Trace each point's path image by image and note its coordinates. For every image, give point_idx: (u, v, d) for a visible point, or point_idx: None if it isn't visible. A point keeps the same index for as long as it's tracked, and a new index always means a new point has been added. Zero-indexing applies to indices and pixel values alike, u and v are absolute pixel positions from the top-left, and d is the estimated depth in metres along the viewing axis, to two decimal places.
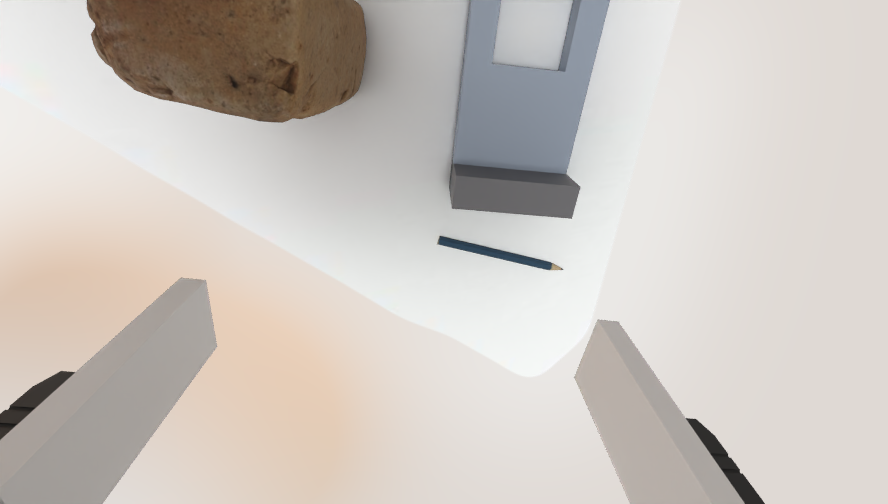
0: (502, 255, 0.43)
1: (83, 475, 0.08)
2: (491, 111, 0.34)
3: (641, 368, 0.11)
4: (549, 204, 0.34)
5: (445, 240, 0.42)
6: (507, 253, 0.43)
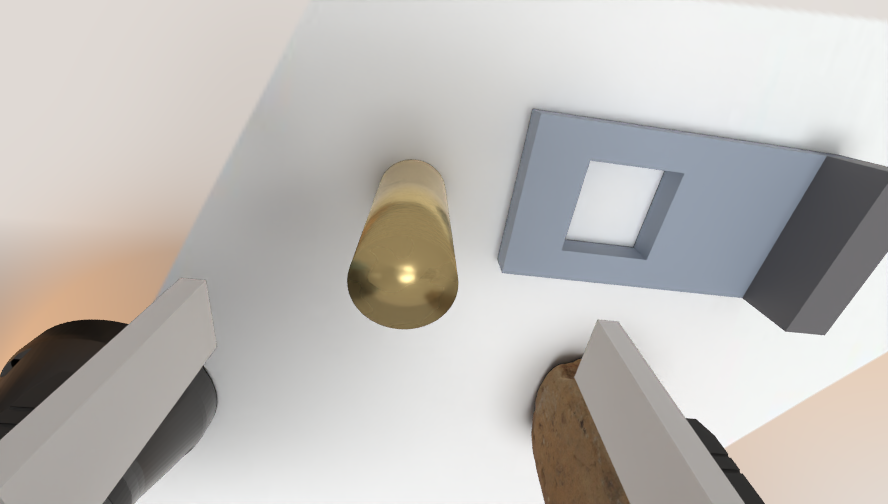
0: None
1: (83, 475, 0.08)
2: (699, 258, 0.28)
3: (641, 368, 0.11)
4: None
5: None
6: None
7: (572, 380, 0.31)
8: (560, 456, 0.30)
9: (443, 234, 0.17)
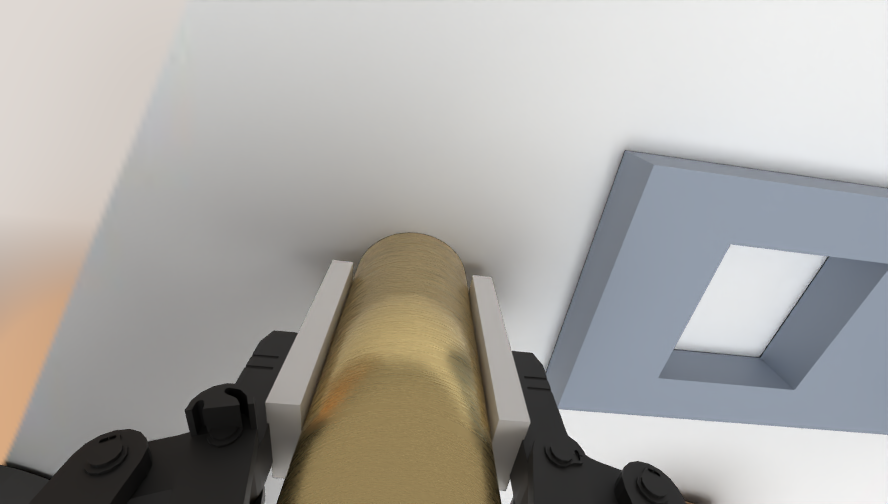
0: None
1: None
2: (879, 387, 0.17)
3: (491, 311, 0.13)
4: None
5: None
6: None
7: None
8: None
9: None
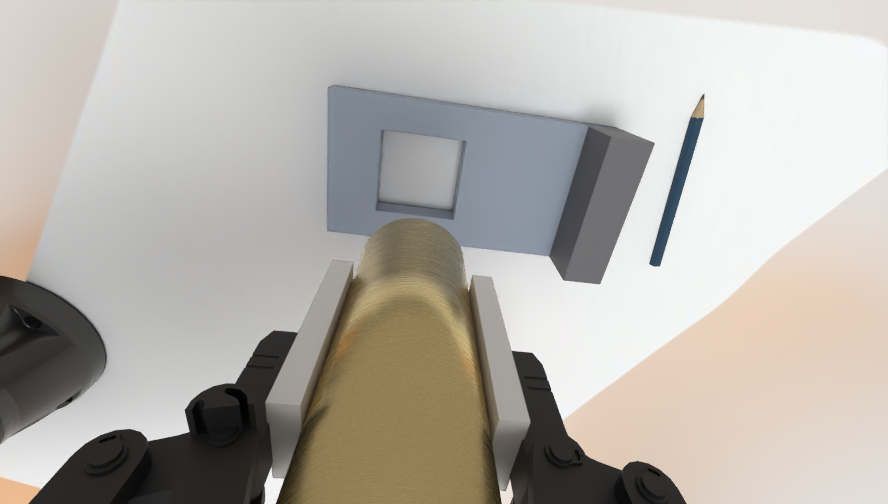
0: (677, 191, 0.33)
1: None
2: (500, 219, 0.32)
3: (491, 311, 0.13)
4: (625, 176, 0.26)
5: (655, 259, 0.36)
6: (674, 184, 0.33)
7: None
8: None
9: (476, 452, 0.08)
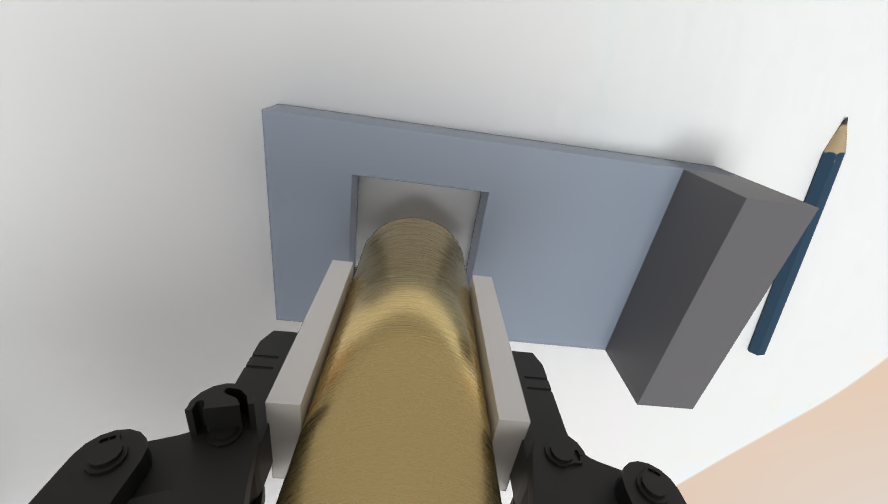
0: (797, 257, 0.22)
1: None
2: (536, 302, 0.21)
3: (491, 311, 0.13)
4: (758, 259, 0.16)
5: (759, 346, 0.25)
6: None
7: None
8: None
9: (476, 451, 0.08)
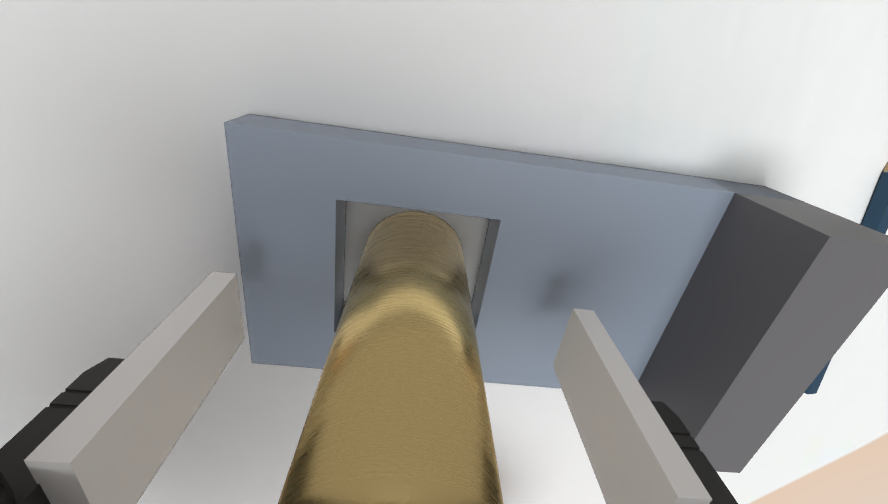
0: None
1: (136, 453, 0.08)
2: (553, 342, 0.18)
3: (611, 353, 0.12)
4: (836, 308, 0.13)
5: (810, 384, 0.22)
6: None
7: None
8: None
9: (474, 418, 0.08)
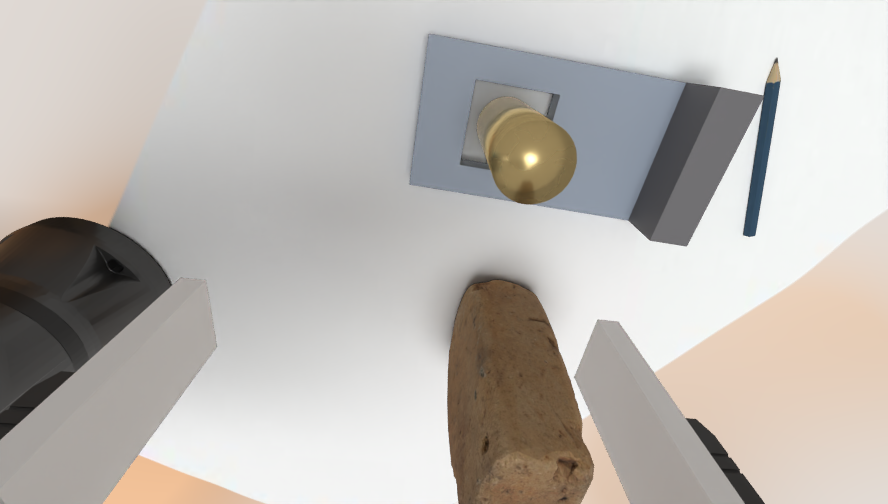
0: (763, 158, 0.32)
1: (83, 475, 0.08)
2: (583, 178, 0.31)
3: (641, 368, 0.11)
4: (729, 130, 0.26)
5: (749, 229, 0.35)
6: (758, 152, 0.32)
7: (477, 291, 0.35)
8: (459, 353, 0.34)
9: None
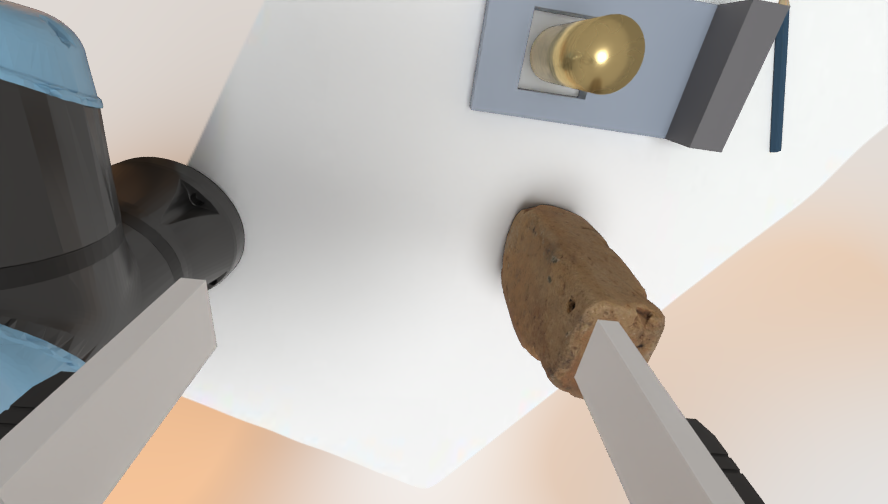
0: (781, 77, 0.36)
1: (83, 475, 0.08)
2: (626, 99, 0.35)
3: (641, 368, 0.11)
4: (759, 39, 0.30)
5: (776, 145, 0.39)
6: (776, 72, 0.36)
7: (530, 210, 0.39)
8: (518, 264, 0.37)
9: None
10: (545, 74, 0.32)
